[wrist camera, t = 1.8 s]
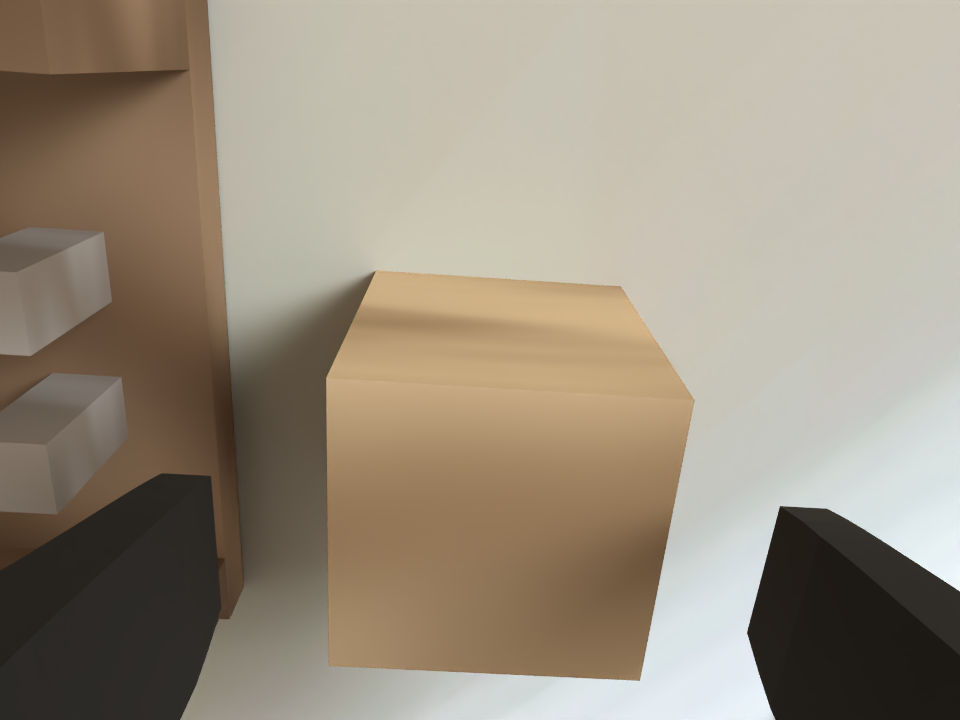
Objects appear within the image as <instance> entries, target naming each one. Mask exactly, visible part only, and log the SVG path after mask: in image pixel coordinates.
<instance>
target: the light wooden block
mask: <svg viewBox="0 0 960 720" xmlns="http://www.w3.org/2000/svg"><path fill="white" fill-rule="evenodd" d="M693 405H694V399H693V397H692V396H691V394H690V393H689V391H688V390H687V388H686V386H685V385H684V383H683V382H682V380H681V379H680V377H679V376H678V374H677V373H676V371H675V369H674V368H673V366H672V365H671V363H670V362H669V360H668V359H667V357H666V356H665V354H664V352H663V351H662V349H661V348H660V346H659V345H658V343H657V342H656V340H655V339H654V337H653V335H652V334H651V332H650V331H649V329H648V328H647V326H646V325H645V323H644V322H643V320H642V318H641V317H640V315H639V314H638V312H637V311H636V309H635V308H634V306H633V305H632V303H631V301H630V300H629V298H628V297H627V295H626V294H625V292H624V291H623V289H622V288H621V287H619V286H603V285H588V284H573V283H557V282H542V281H527V280H511V279H496V278H481V277H465V276H450V275H435V274H419V273H404V272H388V271H376V272H375V274H374V277H373V279H372V281H371V283H370V285H369V287H368V289H367V292H366V294H365V296H364V298H363V300H362V302H361V305H360V307H359V309H358V311H357V313H356V315H355V317H354V320H353V322H352V324H351V326H350V328H349V330H348V332H347V335H346V337H345V339H344V341H343V343H342V345H341V347H340V350H339V352H338V354H337V356H336V358H335V360H334V362H333V365H332V367H331V369H330V371H329V373H328V375H327V377H326V413H327V524H328V634H329V666H344V667H365V668H386V669H407V670H427V671H448V672H469V673H490V674H511V675H532V676H553V677H574V678H595V679H616V680H637V681H640V677H641V672H642V667H643V662H644V657H645V651H646V646H647V641H648V636H649V631H650V626H651V621H652V616H653V610H654V605H655V600H656V595H657V590H658V585H659V580H660V574H661V569H662V564H663V559H664V554H665V549H666V544H667V539H668V533H669V528H670V523H671V518H672V513H673V508H674V503H675V497H676V492H677V487H678V482H679V477H680V472H681V467H682V462H683V456H684V451H685V446H686V441H687V436H688V431H689V426H690V421H691V415H692V410H693Z"/></svg>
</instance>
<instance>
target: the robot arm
mask: <svg viewBox="0 0 960 720" xmlns="http://www.w3.org/2000/svg"><path fill="white" fill-rule="evenodd" d="M220 611H221V597H220V584H219V571H218V558H217V546H216V533H215V520H214V507H213V495H212V482H211V476H204V475H186V474H167V473H161V474H159V475H157V476H155V477H154V478H152V479H150V480H148V481H146V482H144V483H143V484H141V485H139V486H138V487H136V488H134V489H133V490H131V491H129V492H128V493H126V494H124V495H123V496H121V497H119V498H118V499H116V500H115V501H113V502H111V503H110V504H108V505H107V506H105V507H103V508H102V509H100V510H99V511H97V512H95V513H94V514H92V515H91V516H89V517H87V518H86V519H84V520H83V521H81V522H79V523H78V524H76V525H75V526H73V527H71V528H70V529H68V530H66V531H65V532H63V533H62V534H60V535H58V536H57V537H55V538H53V539H52V540H50V541H48V542H47V543H45V544H44V545H42V546H40V547H39V548H37V549H35V550H34V551H32V552H31V553H29V554H27V555H26V556H24V557H22V558H21V559H19V560H17V561H16V562H14V563H12V564H11V565H9V566H7V567H5V568H4V569H2V570H0V720H180V719H181V717H182V714H183V712H184V710H185V708H186V706H187V704H188V701H189V699H190V697H191V695H192V693H193V690H194V688H195V686H196V684H197V681H198V678H199V675H200V672H201V669H202V666H203V663H204V661H205V658H206V655H207V652H208V649H209V646H210V642H211V639H212V636H213V633H214V630H215V626H216V623H217V620H218V617H219V614H220ZM747 634H748V637H749V641H750V644H751V648H752V651H753V654H754V658H755V661H756V665H757V668H758V671H759V675H760V678H761V681H762V684H763V687H764V690H765V693H766V696H767V699H768V702H769V705H770V708H771V710H772V713H773V715H774V717H775V720H960V591H958V590H957V589H955V588H954V587H952V586H951V585H949V584H947V583H946V582H944V581H943V580H941V579H940V578H938V577H937V576H935V575H934V574H932V573H931V572H929V571H928V570H926V569H924V568H923V567H921V566H920V565H918V564H917V563H915V562H914V561H912V560H911V559H909V558H908V557H906V556H904V555H903V554H901V553H900V552H898V551H897V550H895V549H894V548H892V547H891V546H889V545H888V544H886V543H884V542H883V541H881V540H880V539H878V538H876V537H875V536H873V535H872V534H870V533H869V532H867V531H865V530H864V529H862V528H860V527H859V526H857V525H855V524H854V523H852V522H850V521H849V520H847V519H845V518H843V517H842V516H840V515H838V514H836V513H834V512H832V511H830V510H828V509H821V508H802V507H783V506H780V508H779V512H778V516H777V520H776V524H775V528H774V531H773V535H772V539H771V543H770V547H769V551H768V554H767V558H766V562H765V566H764V570H763V574H762V578H761V581H760V585H759V589H758V593H757V597H756V601H755V604H754V608H753V612H752V616H751V620H750V624H749V627H748V631H747Z"/></svg>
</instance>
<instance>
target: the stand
mask: <svg viewBox="0 0 960 720" xmlns="http://www.w3.org/2000/svg"><path fill="white" fill-rule="evenodd" d="M161 473H167V474H186V475H204V476H211V482H212V495H213V507H214V520H215V533H216V546H217V558H218V571H219V584H220V597H221V611H220V614H219V617H218V620H219V619H230V617H231V614H232V612H233V610H234V607H235V605H236V603H237V601H238V598H239V596H240V594H241V592H242V589H243V571H242V555H241V539H240V522H239V506H238V490H237V474H236V458H235V442H234V425H233V409H232V393H231V377H230V361H229V345H228V328H227V312H226V296H225V280H224V264H223V248H222V231H221V215H220V199H219V183H218V167H217V151H216V134H215V118H214V102H213V86H212V70H211V54H210V37H209V21H208V5H207V0H0V570H2V569H4V568H5V567H7V566H9V565H11V564H12V563H14V562H16V561H17V560H19V559H21V558H22V557H24V556H26V555H27V554H29V553H31V552H32V551H34V550H35V549H37V548H39V547H40V546H42V545H44V544H45V543H47V542H48V541H50V540H52V539H53V538H55V537H57V536H58V535H60V534H62V533H63V532H65V531H66V530H68V529H70V528H71V527H73V526H75V525H76V524H78V523H79V522H81V521H83V520H84V519H86V518H87V517H89V516H91V515H92V514H94V513H95V512H97V511H99V510H100V509H102V508H103V507H105V506H107V505H108V504H110V503H111V502H113V501H115V500H116V499H118V498H119V497H121V496H123V495H124V494H126V493H128V492H129V491H131V490H133V489H134V488H136V487H138V486H139V485H141V484H143V483H144V482H146V481H148V480H150V479H152V478H154V477H155V476H157V475H159V474H161ZM218 620H217V622H218ZM216 625H217V623H216ZM215 627H216V626H215Z"/></svg>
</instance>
